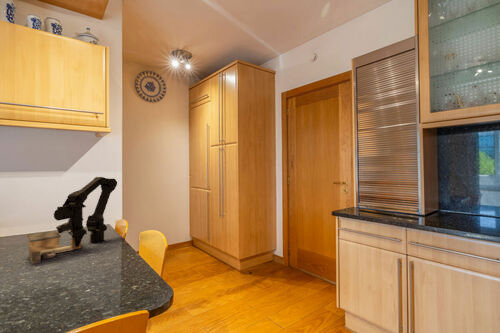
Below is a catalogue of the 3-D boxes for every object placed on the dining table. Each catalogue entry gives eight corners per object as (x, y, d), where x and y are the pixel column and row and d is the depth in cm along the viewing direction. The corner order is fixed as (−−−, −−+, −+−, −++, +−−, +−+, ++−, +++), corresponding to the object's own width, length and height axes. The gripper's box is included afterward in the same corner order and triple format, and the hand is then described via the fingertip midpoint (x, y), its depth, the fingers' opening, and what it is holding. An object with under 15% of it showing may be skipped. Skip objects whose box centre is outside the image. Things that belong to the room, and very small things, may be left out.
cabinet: (55, 251, 131) (55, 230, 131) (60, 258, 121) (60, 235, 121) (27, 256, 123) (27, 234, 123) (30, 264, 113) (30, 240, 113)
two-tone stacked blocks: (79, 246, 138) (79, 236, 138) (81, 248, 134) (81, 238, 134) (40, 253, 127) (40, 243, 127) (41, 256, 123) (41, 246, 123)
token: (54, 254, 127) (54, 249, 127) (56, 256, 123) (56, 251, 123) (42, 256, 123) (42, 251, 123) (43, 259, 119) (43, 254, 119)
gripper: (54, 216, 136) (54, 245, 136) (60, 221, 123) (60, 253, 122) (79, 214, 144) (79, 241, 144) (86, 218, 130) (86, 248, 130)
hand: (76, 245), depth 135 cm, fingers closed on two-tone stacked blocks, 4 cm apart
